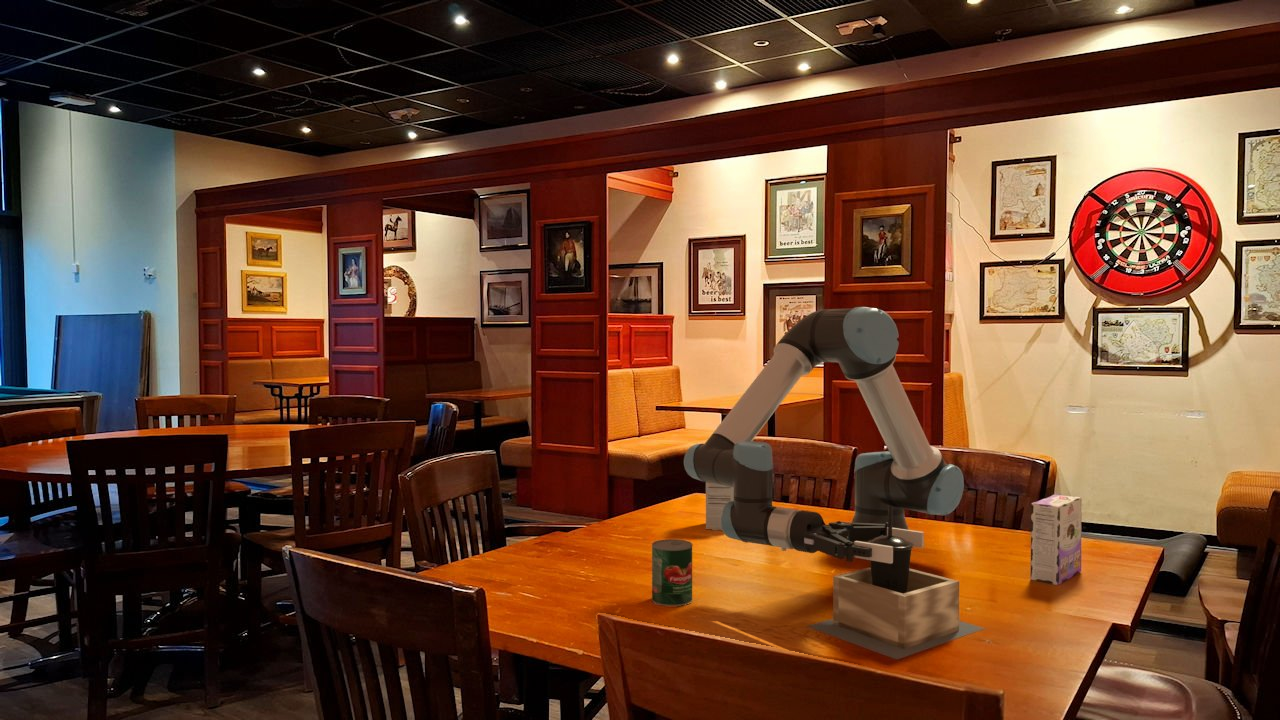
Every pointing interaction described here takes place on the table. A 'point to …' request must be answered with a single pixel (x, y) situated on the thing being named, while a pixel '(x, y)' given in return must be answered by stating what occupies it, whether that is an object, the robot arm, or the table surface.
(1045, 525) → the candy box
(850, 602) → the holder
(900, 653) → the mat
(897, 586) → the drinking cup
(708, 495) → the supplement box
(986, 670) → the table surface
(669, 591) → the canned tomato
